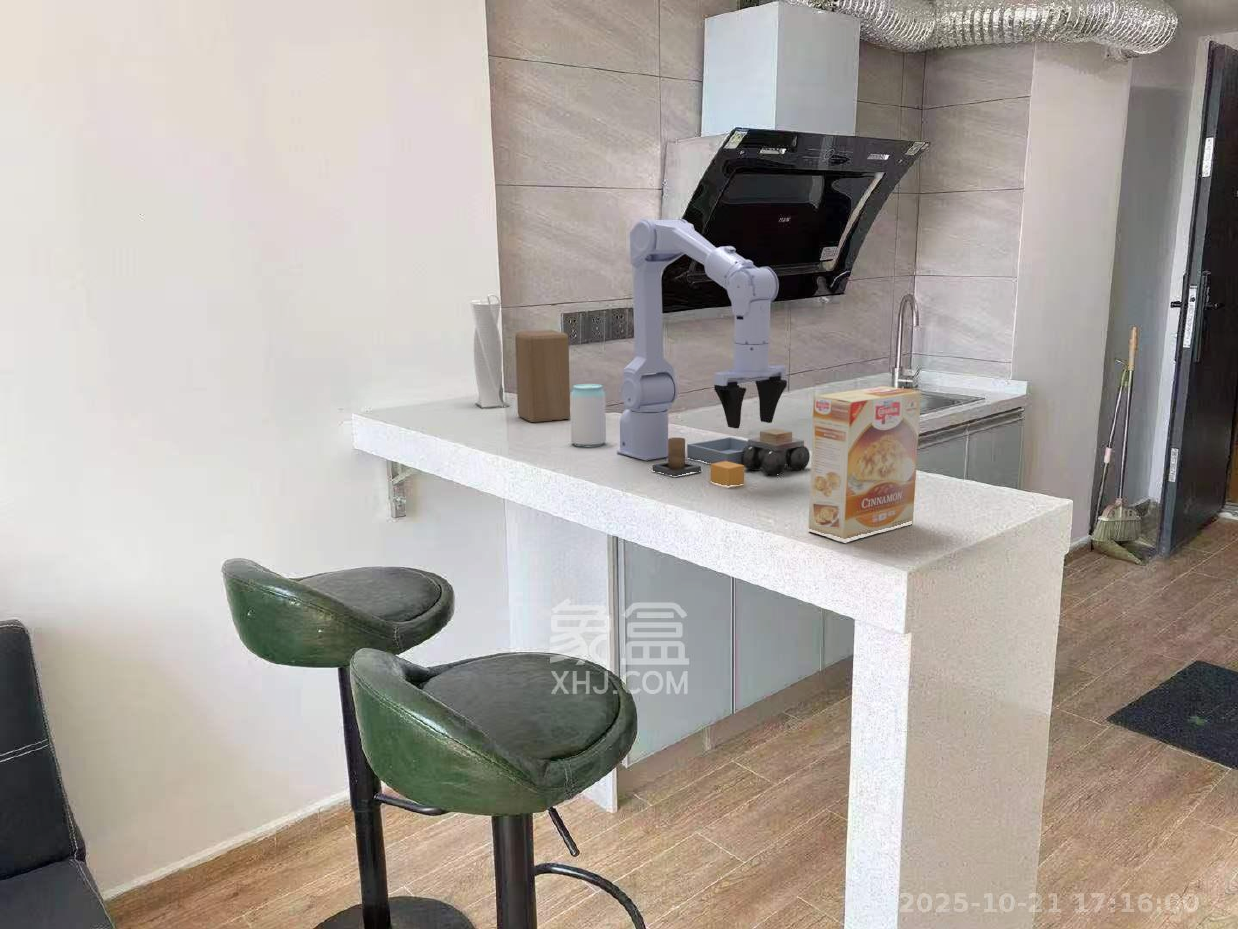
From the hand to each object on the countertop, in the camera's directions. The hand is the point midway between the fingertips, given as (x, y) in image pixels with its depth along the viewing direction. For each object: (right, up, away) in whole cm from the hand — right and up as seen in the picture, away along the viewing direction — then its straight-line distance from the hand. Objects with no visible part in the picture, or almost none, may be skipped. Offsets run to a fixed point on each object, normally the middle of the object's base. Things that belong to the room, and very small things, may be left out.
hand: (750, 424), depth 162 cm
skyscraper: (-54, +8, +82) cm, 99 cm away
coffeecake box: (+12, -16, -24) cm, 32 cm away
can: (-28, -3, +35) cm, 45 cm away
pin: (-12, -8, +11) cm, 18 cm away
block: (-39, +4, +65) cm, 76 cm away
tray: (-1, -6, +20) cm, 21 cm away
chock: (-4, -10, +2) cm, 11 cm away
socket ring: (-12, -8, +11) cm, 18 cm away
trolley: (+6, -8, +12) cm, 15 cm away
